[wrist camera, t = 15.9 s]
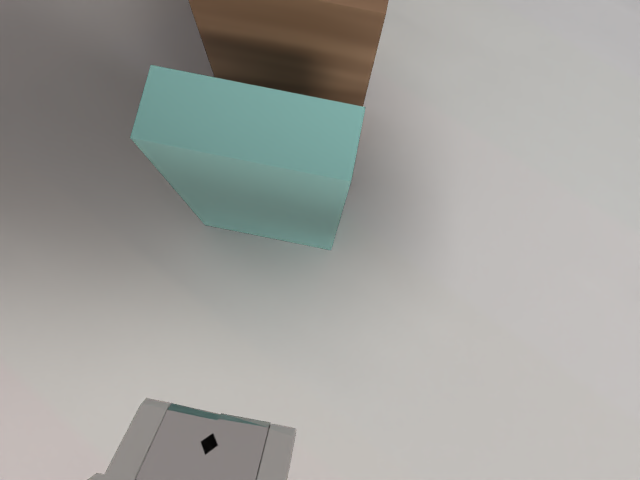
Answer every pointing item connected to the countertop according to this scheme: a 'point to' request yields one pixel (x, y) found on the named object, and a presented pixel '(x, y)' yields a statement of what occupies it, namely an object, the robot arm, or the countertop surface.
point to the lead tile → (250, 153)
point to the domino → (294, 44)
